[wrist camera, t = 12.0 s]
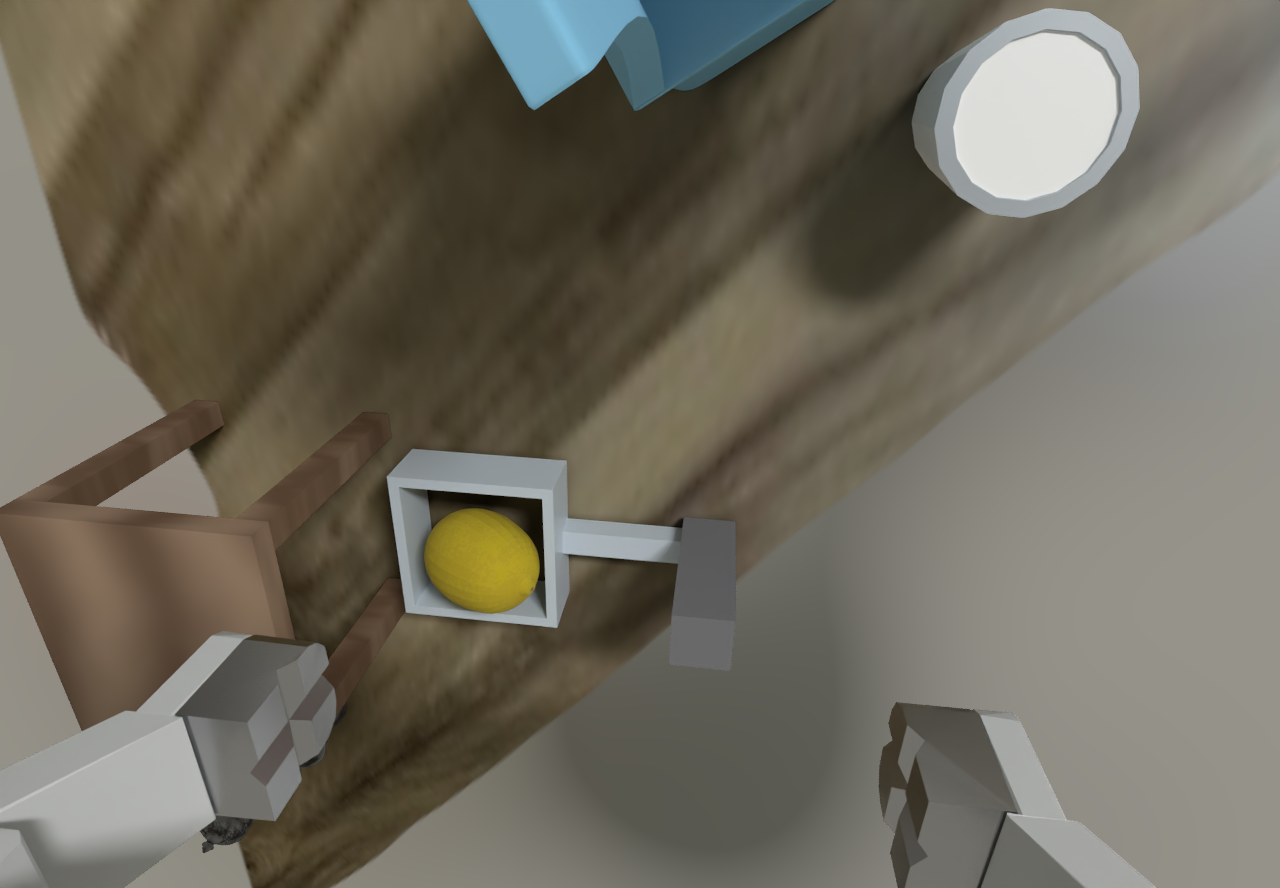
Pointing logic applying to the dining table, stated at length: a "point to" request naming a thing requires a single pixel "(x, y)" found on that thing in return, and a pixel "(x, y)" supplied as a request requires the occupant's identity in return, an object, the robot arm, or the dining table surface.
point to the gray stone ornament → (235, 828)
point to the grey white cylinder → (1029, 112)
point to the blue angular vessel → (631, 40)
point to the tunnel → (173, 566)
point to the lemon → (481, 560)
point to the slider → (570, 549)
